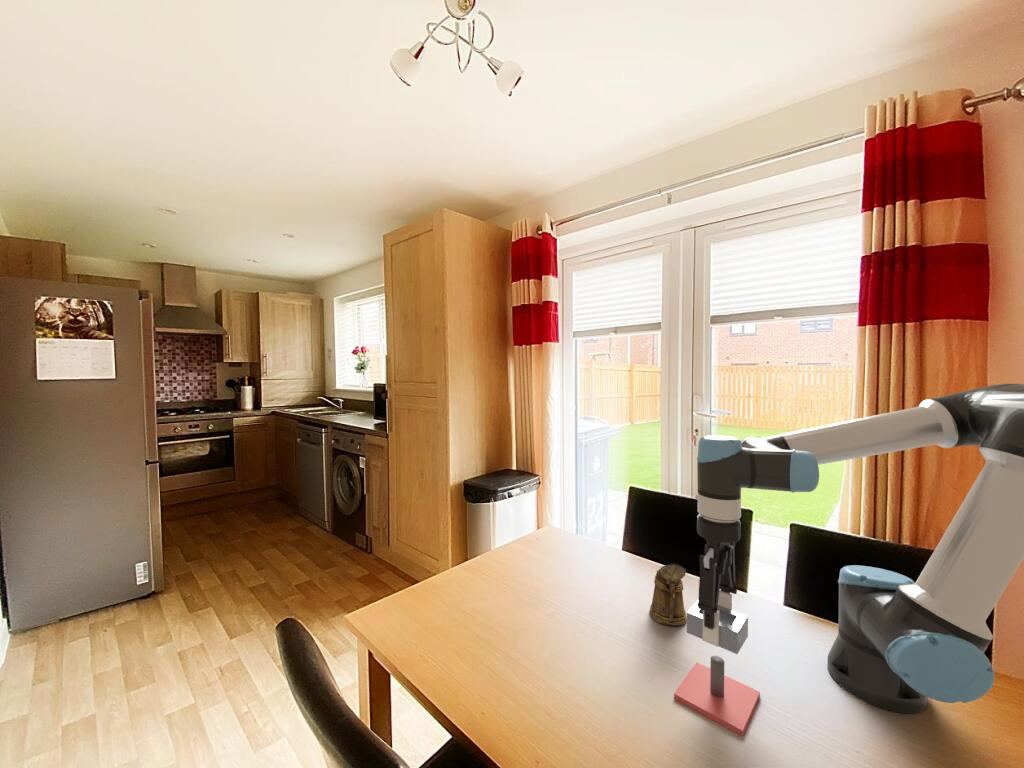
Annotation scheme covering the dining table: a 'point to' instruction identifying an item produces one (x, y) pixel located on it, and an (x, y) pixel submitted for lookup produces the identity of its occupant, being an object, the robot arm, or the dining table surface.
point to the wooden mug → (669, 596)
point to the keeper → (718, 696)
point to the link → (721, 627)
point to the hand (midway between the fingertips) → (717, 633)
